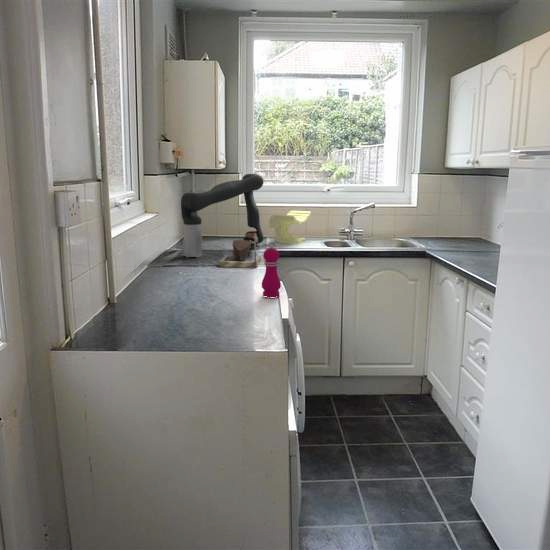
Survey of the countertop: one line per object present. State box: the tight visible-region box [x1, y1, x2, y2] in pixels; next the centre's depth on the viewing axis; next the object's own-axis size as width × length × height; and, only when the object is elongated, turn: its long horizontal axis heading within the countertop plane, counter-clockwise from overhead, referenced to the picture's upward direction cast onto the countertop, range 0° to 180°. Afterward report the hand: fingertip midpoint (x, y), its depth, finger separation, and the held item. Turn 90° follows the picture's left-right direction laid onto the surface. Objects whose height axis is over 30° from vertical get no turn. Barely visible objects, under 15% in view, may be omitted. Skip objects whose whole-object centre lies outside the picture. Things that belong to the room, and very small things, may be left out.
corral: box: [219, 233, 262, 269], centre depth 252 cm, size 18×16×16 cm
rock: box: [232, 239, 251, 262], centre depth 261 cm, size 12×10×10 cm
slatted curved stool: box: [268, 210, 312, 245], centre depth 320 cm, size 30×16×18 cm, turn 157°
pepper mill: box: [261, 243, 282, 297], centre depth 193 cm, size 7×7×20 cm
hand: (245, 246), depth 265 cm, fingers closed
